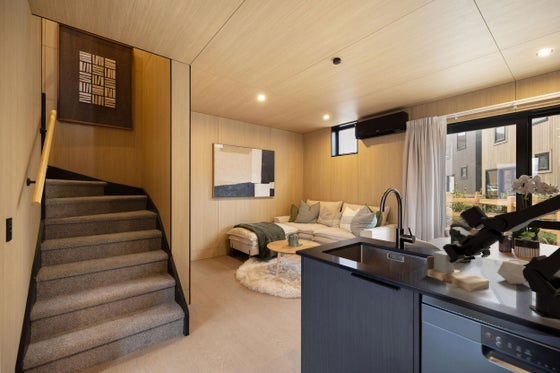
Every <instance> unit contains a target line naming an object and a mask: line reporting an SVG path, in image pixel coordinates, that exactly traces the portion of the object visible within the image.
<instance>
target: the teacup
mask: <svg viewBox="0 0 560 373" xmlns="http://www.w3.org/2000/svg"><path fill="white" fill-rule="evenodd" d="M506 261H517V262H518V263H519V264H520V265H522V266H523V265H525V264H528V263H529V262H530V261H528V260H522V259H515V258H507V259H506ZM523 267H524V268H525V266H523Z"/></svg>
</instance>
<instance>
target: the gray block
mask: <svg viewBox="0 0 560 373" xmlns="http://www.w3.org/2000/svg"><path fill="white" fill-rule="evenodd" d="M433 256H434V269H435V270H438V271H441V272H444V273H449V272H454V269H455V263H451V262H450V259H451V258H450V257H449V256H448V254H447V253H446V252H445V251H444V250H438V251H434V252H433Z"/></svg>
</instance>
